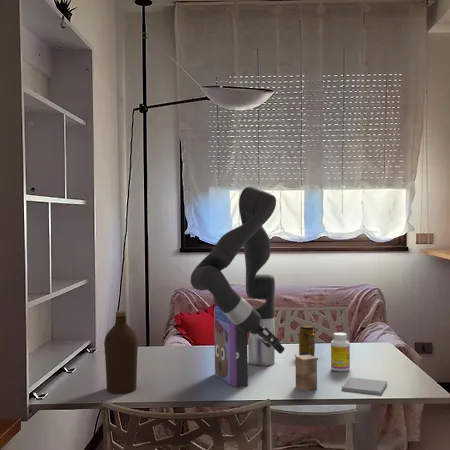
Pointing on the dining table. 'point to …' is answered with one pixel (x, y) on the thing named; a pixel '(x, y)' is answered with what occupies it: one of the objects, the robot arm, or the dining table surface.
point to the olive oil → (121, 356)
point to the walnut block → (306, 372)
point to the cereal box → (230, 351)
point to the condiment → (306, 341)
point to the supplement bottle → (340, 353)
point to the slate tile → (364, 386)
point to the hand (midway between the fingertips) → (276, 348)
